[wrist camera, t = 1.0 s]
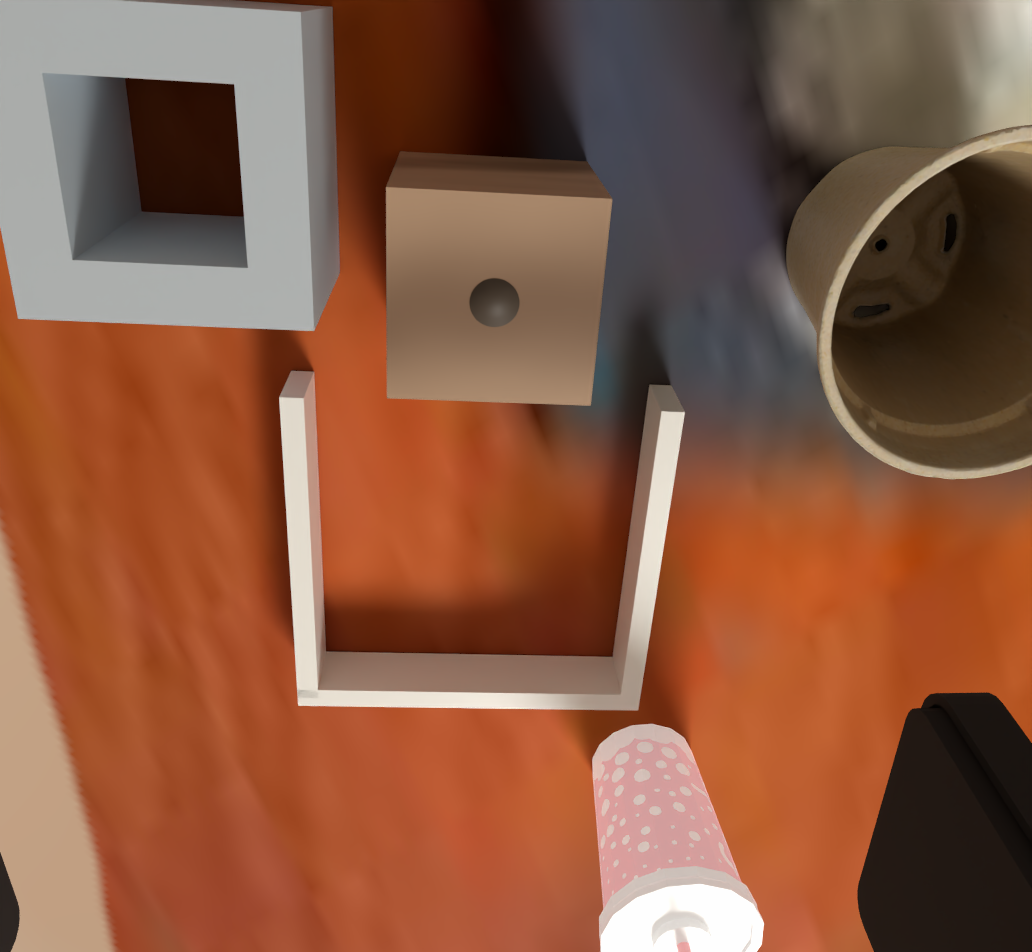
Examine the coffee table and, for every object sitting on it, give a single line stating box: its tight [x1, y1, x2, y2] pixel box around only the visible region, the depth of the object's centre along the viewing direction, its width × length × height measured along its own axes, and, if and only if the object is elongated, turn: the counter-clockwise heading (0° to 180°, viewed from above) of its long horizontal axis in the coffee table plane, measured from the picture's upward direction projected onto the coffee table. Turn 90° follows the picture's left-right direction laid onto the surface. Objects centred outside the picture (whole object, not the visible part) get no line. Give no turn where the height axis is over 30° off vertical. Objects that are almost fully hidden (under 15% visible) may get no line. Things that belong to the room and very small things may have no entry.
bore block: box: [0, 0, 340, 331], centre depth 27 cm, size 8×8×6 cm
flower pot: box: [786, 125, 1032, 479], centre depth 28 cm, size 9×9×9 cm
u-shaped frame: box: [279, 371, 685, 710], centre depth 35 cm, size 13×14×2 cm
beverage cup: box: [592, 724, 764, 952], centre depth 36 cm, size 6×6×14 cm
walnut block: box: [386, 151, 612, 406], centre depth 29 cm, size 6×6×6 cm
